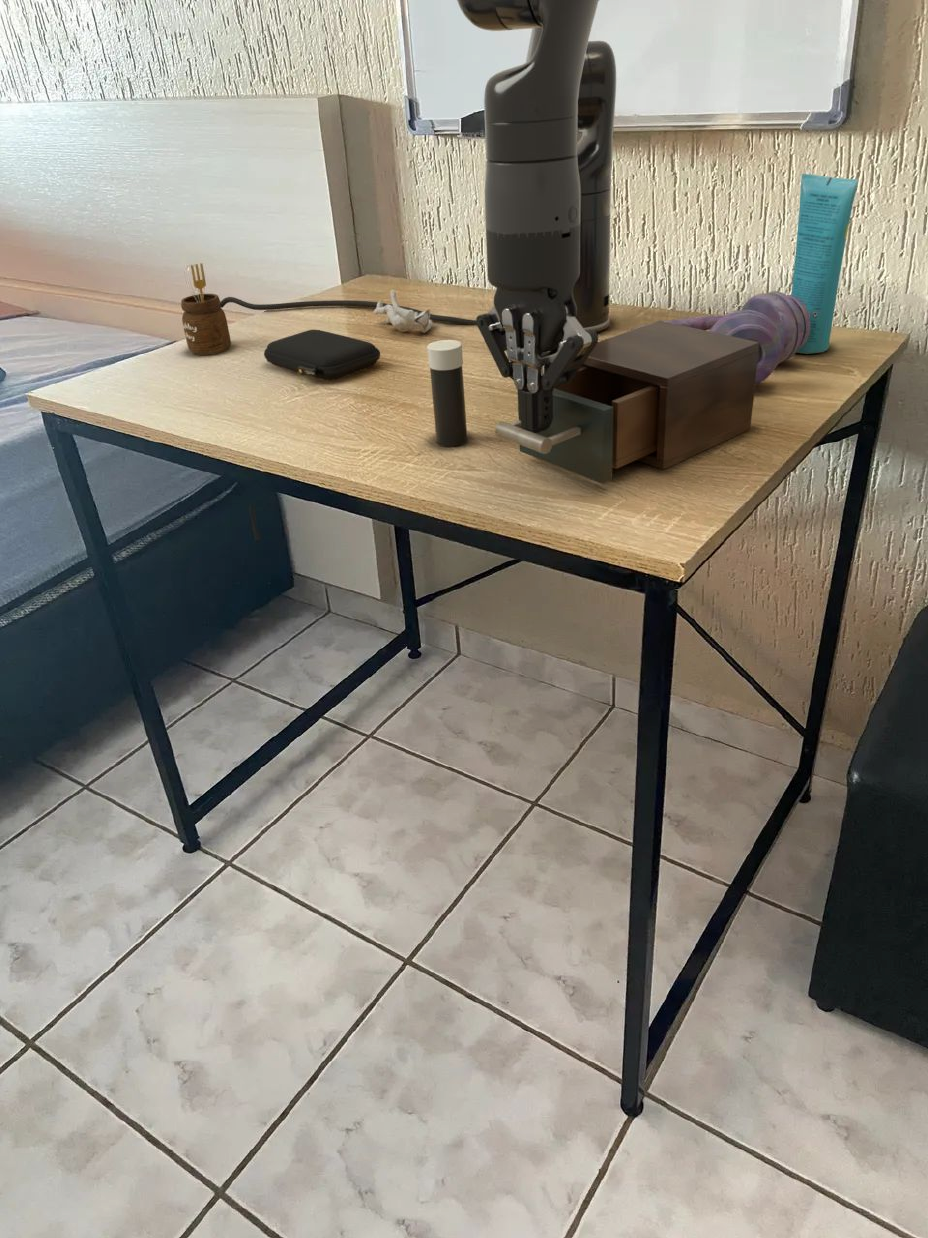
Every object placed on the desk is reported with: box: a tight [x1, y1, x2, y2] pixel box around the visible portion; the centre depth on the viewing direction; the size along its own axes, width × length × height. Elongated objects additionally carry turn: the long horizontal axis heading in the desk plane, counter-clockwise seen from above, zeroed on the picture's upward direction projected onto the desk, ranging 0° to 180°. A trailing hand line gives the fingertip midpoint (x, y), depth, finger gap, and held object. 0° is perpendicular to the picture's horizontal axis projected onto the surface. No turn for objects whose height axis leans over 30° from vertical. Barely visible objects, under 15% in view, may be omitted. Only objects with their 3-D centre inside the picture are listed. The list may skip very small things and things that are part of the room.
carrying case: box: [263, 329, 381, 381], centre depth 121 cm, size 11×3×15 cm
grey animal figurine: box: [373, 289, 434, 334], centre depth 131 cm, size 8×5×12 cm
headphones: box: [631, 290, 811, 386], centre depth 109 cm, size 18×8×20 cm
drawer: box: [494, 365, 660, 485], centre depth 88 cm, size 17×11×7 cm, turn 130°
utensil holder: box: [180, 262, 232, 356], centre depth 128 cm, size 6×6×12 cm
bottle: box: [426, 339, 468, 448], centre depth 95 cm, size 3×3×10 cm
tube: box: [791, 173, 860, 355], centre depth 109 cm, size 7×5×19 cm, turn 39°
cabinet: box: [582, 320, 759, 470], centre depth 93 cm, size 13×12×9 cm
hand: (536, 429), depth 84 cm, fingers closed
